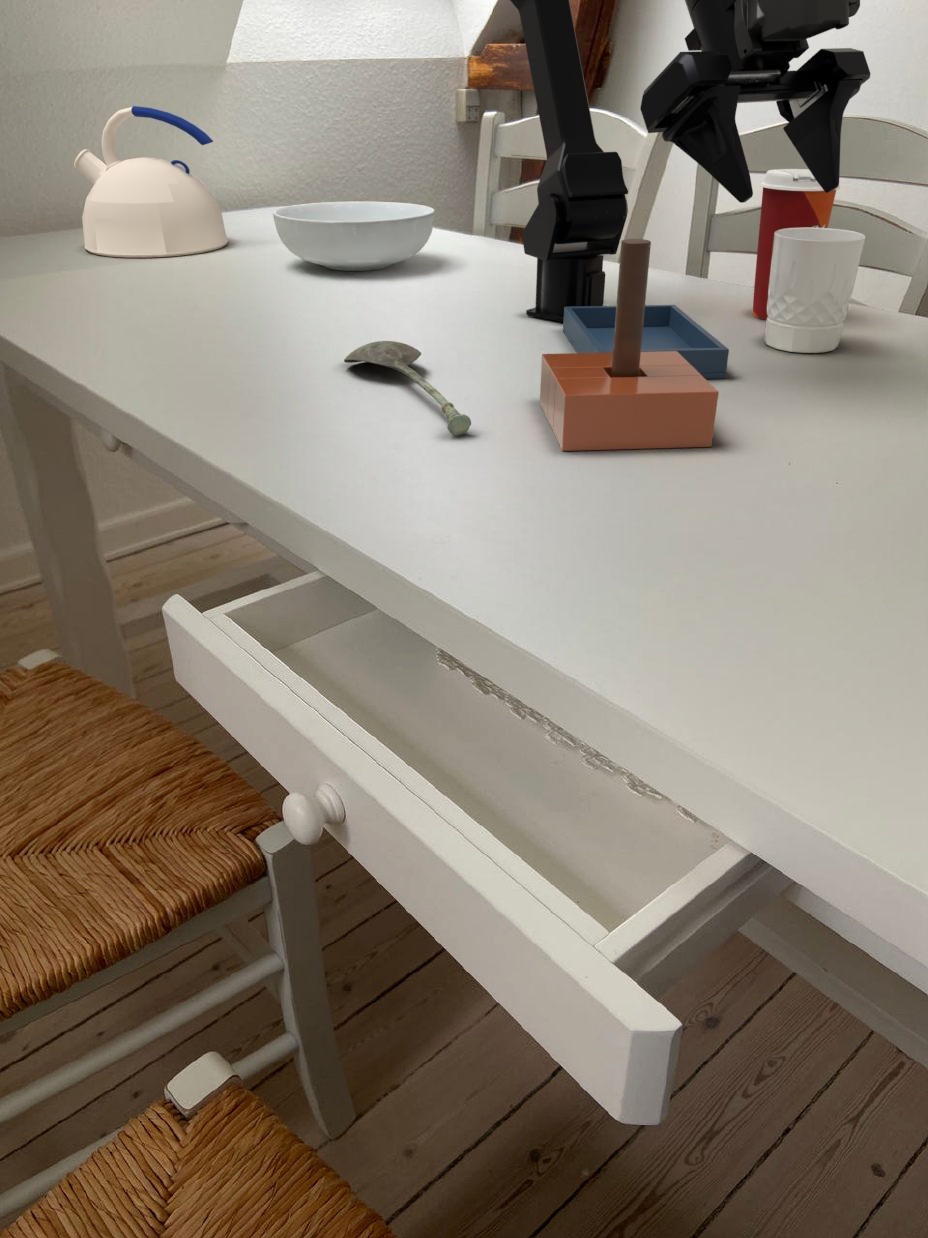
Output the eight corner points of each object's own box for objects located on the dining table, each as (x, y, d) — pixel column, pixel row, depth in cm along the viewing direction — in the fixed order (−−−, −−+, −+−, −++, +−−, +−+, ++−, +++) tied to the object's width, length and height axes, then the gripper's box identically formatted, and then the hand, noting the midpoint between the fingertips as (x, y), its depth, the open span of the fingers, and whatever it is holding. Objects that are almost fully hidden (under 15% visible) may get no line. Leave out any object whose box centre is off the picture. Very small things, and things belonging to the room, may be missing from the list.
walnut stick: (601, 424, 73) (615, 241, 66) (616, 418, 74) (631, 237, 67) (624, 430, 71) (640, 244, 65) (639, 423, 73) (656, 240, 66)
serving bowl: (465, 260, 131) (465, 205, 128) (372, 287, 116) (369, 226, 112) (344, 246, 141) (341, 195, 137) (243, 269, 125) (237, 212, 122)
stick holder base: (539, 403, 77) (541, 353, 75) (671, 400, 78) (677, 350, 76) (562, 451, 68) (565, 395, 66) (711, 447, 68) (719, 391, 66)
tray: (562, 331, 97) (564, 306, 96) (672, 329, 98) (675, 304, 97) (596, 381, 82) (598, 351, 81) (725, 378, 83) (729, 349, 82)
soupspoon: (407, 364, 89) (338, 375, 87) (403, 326, 88) (333, 337, 86) (501, 429, 71) (416, 444, 69) (499, 384, 70) (412, 398, 68)
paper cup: (820, 325, 99) (847, 176, 92) (743, 322, 101) (764, 174, 94) (812, 308, 106) (837, 168, 99) (740, 305, 107) (759, 167, 100)
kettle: (120, 233, 151) (98, 102, 142) (248, 236, 149) (234, 103, 140) (55, 256, 134) (26, 108, 125) (199, 259, 131) (179, 109, 122)
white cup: (844, 338, 95) (865, 229, 90) (843, 358, 88) (866, 242, 83) (761, 331, 97) (777, 225, 92) (754, 351, 91) (771, 238, 86)
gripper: (703, -91, 62) (778, 139, 62) (894, -79, 70) (961, 124, 70) (608, 28, 72) (673, 226, 72) (785, 27, 80) (843, 205, 80)
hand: (791, 194), depth 73 cm, fingers open, 9 cm apart
